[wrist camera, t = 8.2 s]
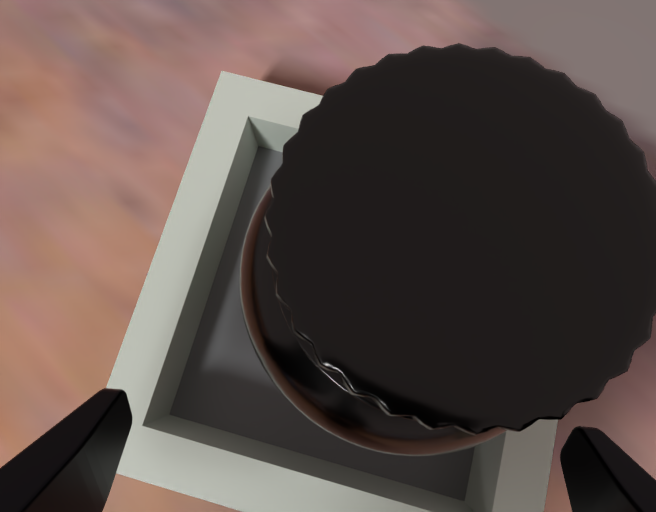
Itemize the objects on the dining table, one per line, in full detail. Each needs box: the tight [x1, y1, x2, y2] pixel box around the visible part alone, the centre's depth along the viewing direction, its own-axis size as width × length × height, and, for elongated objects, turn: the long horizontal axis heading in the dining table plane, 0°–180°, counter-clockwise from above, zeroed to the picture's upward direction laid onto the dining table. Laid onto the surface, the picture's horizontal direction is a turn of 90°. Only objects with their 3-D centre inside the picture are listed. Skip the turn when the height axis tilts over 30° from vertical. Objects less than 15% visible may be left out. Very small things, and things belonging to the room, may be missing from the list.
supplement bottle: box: [239, 43, 656, 456], centre depth 11 cm, size 7×7×12 cm
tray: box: [106, 71, 558, 512], centre depth 16 cm, size 14×14×3 cm
